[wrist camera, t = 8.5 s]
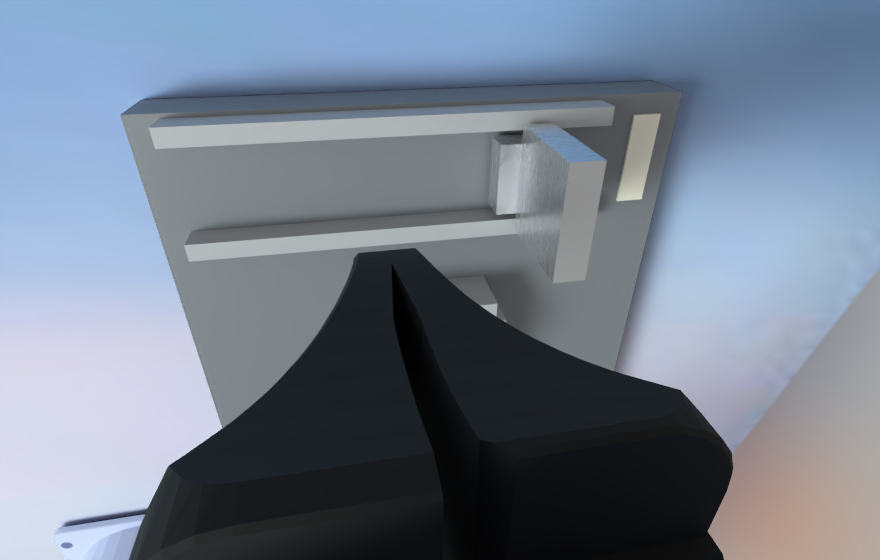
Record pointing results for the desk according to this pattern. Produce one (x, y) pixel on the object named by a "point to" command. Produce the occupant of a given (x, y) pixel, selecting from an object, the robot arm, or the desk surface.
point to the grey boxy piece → (549, 195)
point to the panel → (383, 210)
